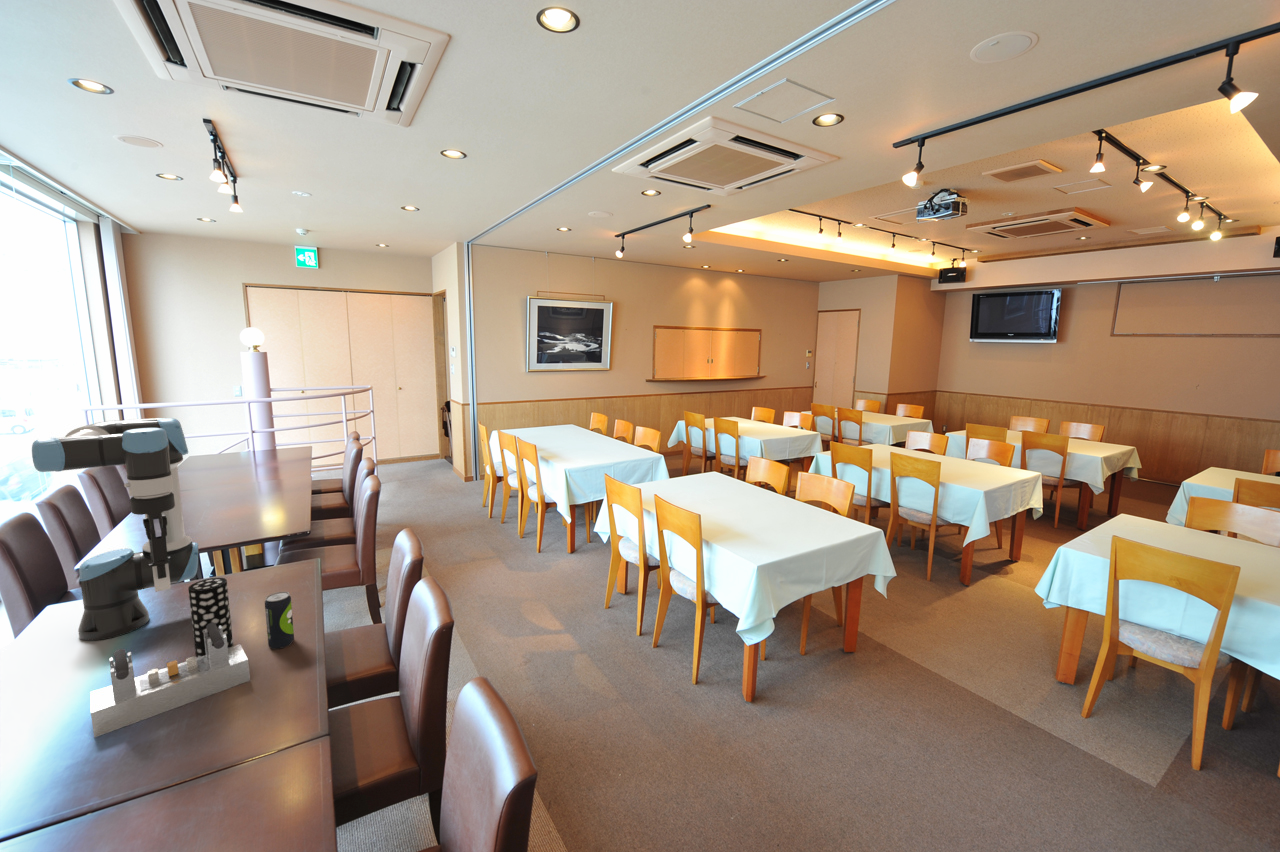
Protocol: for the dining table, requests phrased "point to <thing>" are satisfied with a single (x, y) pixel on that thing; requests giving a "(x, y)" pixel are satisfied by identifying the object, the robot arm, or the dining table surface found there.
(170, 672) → the breaker paddle
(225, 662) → the white parts holder tray
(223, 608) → the spotted tube
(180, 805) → the dining table surface
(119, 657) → the dark grey bar handle
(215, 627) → the dark grey rod
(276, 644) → the beverage can
